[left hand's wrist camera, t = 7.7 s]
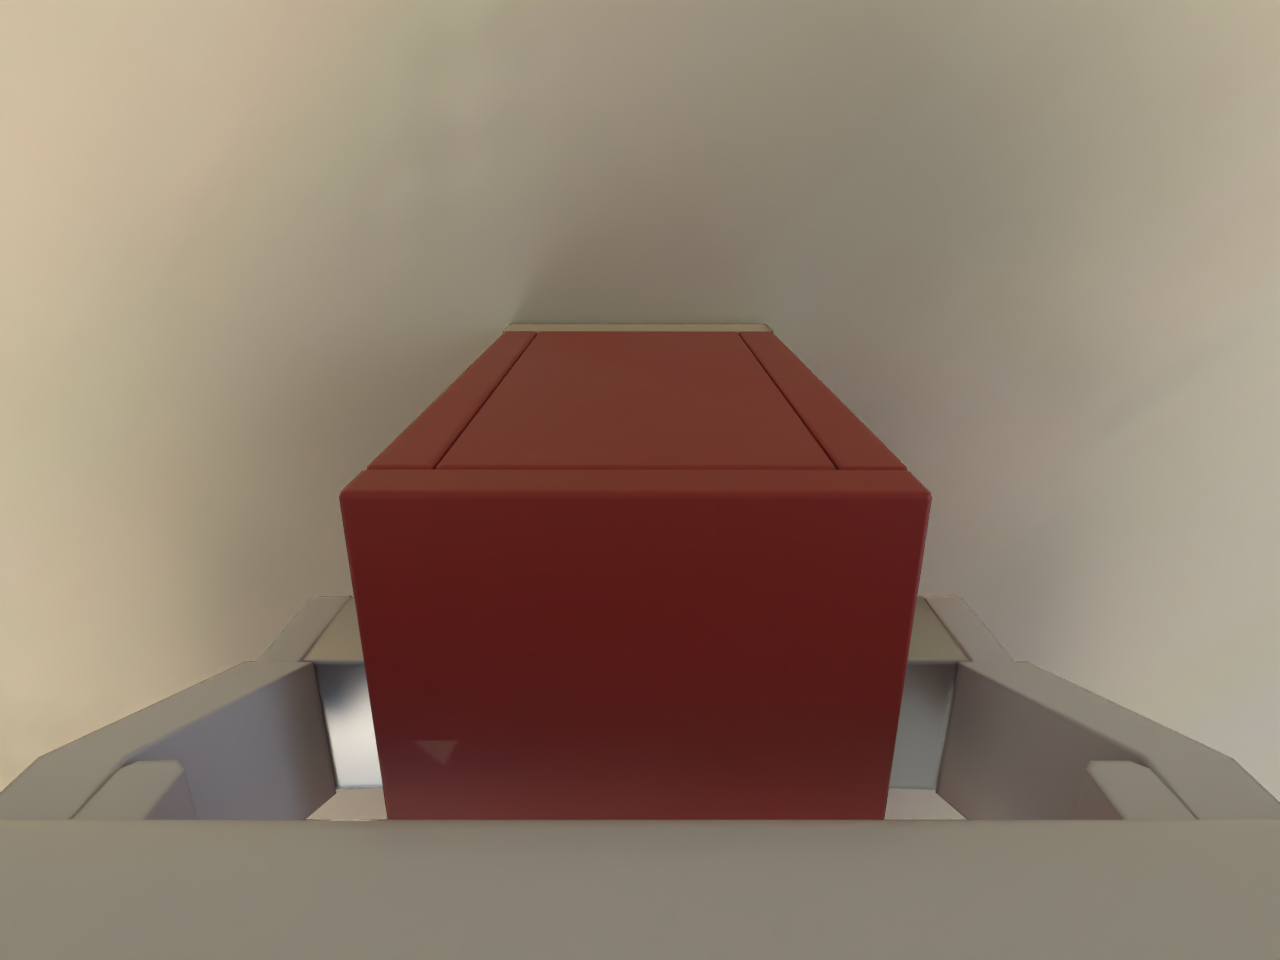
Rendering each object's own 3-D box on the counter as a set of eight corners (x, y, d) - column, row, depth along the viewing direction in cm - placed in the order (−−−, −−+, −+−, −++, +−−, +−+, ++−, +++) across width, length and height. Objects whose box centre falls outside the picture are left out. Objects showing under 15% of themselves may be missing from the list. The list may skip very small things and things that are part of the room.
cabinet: (728, 964, 23) (788, 1483, 14) (547, 964, 23) (485, 1482, 14) (766, 324, 16) (936, 492, 7) (509, 323, 16) (333, 492, 7)
